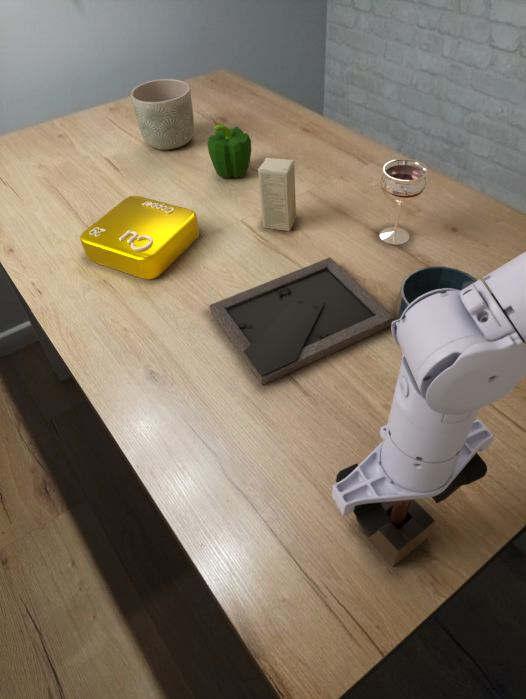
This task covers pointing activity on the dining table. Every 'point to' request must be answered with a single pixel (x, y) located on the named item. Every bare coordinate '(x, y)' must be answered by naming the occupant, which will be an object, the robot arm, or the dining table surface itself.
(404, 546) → the stand
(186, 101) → the planter
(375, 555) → the dining table surface
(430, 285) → the bowl
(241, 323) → the picture frame
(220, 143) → the bell pepper
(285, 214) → the box
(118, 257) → the element tile
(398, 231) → the wineglass
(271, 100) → the dining table surface
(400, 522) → the brown cylindrical rod
